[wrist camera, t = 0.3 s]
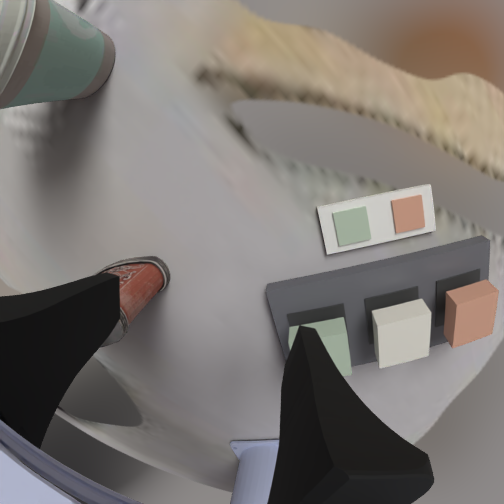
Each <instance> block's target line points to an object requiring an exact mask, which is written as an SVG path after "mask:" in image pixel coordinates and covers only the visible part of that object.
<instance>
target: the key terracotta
mask: <svg viewBox="0 0 504 504" xmlns="http://www.w3.org/2000/svg"><path fill="white" fill-rule="evenodd" d="M498 292H499V290H497V289H496V288H495V287H494V286H493V285H492V284H491V283H490V282H489V281H488V280H487V279H486V280H483V281H480V282H476V283H473V284H470V285H467V286H464V287H460V288H457V289H454V290H450V291H447V292H446V305H445V322H444V336H445V337H446V339H447V340H448V342H449V344H450V345H451V347H452V348H455V347H458V346H461V345H464V344H466V343H469V342H472V341H475V340H477V339H480V338H483V337H485V336H488V335H490V334H492V332H493V326H494V320H495V314H496V308H497V300H498Z"/></svg>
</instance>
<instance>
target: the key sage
mask: <svg viewBox="0 0 504 504" xmlns="http://www.w3.org/2000/svg"><path fill="white" fill-rule="evenodd" d="M302 326H306V327H311V328H315V329H316V331H317V332H318V334H319V336H320V338H321V340H322V342H323V344H324V346H325V347H326V349H327V351H328V353H329V355H330V357H331V358H332V360H333V362H334V363H335V365H336V367H337V368H338V370H339V371H340V373H341V374H342V376H348V375H352V370H351V361H350V352H349V344H348V337H347V330H346V326H345V321H344V317H341V318H336V319H331V320H326V321H320V322H315V323H310V324H304V325H302ZM298 328H299V325H298V326H293V327H289V342H288V344H289V348H290V350H291V347H292V345H293V342H294V339H295V336H296V333H297V330H298Z"/></svg>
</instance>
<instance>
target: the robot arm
mask: <svg viewBox="0 0 504 504" xmlns="http://www.w3.org/2000/svg"><path fill="white" fill-rule="evenodd" d="M120 318H121V316H120V276H117V275H114V274H111V273H108V272H106V273H101V274H97V275H93V276H90V277H87V278H83V279H80V280H77V281H74V282H70V283H67V284H64V285H60V286H57V287H53V288H49V289H46V290H42V291H37V292H33V293H27V294H21V295H13V296H2V297H0V504H81V503H80V502H78V501H77V500H75V499H74V498H72V497H71V496H69V495H68V494H66V493H64V492H63V491H61V490H60V489H58V488H57V487H55V486H54V485H52V484H51V483H49V482H48V481H46V480H45V479H43V478H42V477H40V476H39V475H38V474H36V473H35V472H33V471H32V470H31V469H29V468H28V467H26V466H25V465H24V464H22V463H21V462H20V461H19V460H18V459H20V460H21V461H22V462H24V463H25V464H26V465H28V466H29V467H30V468H32V469H33V470H34V471H36V472H38V473H39V474H40V475H42V476H43V477H45V478H46V479H48V480H49V481H51V482H52V483H54V484H56V485H57V486H59V487H60V488H62V489H63V490H65V491H67V492H68V493H70V494H72V495H74V496H75V497H77V498H79V499H81V500H83V501H85V502H86V503H88V504H143V503H140V502H138V501H135V500H133V499H130V498H128V497H126V496H123V495H121V494H119V493H117V492H114V491H112V490H110V489H108V488H106V487H104V486H102V485H100V484H98V483H96V482H94V481H92V480H90V479H88V478H86V477H84V476H82V475H80V474H79V473H77V472H75V471H73V470H72V469H70V468H68V467H67V466H65V465H63V464H61V463H60V462H58V461H57V460H55V459H54V458H52V457H50V456H49V455H47V454H46V453H44V452H43V451H41V450H40V447H41V444H42V441H43V438H44V436H45V433H46V431H47V428H48V426H49V424H50V421H51V419H52V417H53V415H54V413H55V411H56V409H57V407H58V405H59V403H60V401H61V400H62V398H63V396H64V394H65V392H66V391H67V389H68V387H69V386H70V384H71V383H72V381H73V379H74V378H75V376H76V375H77V374H78V372H79V371H80V370H81V369H82V367H83V366H84V365H85V364H86V363H87V361H88V360H89V359H90V358H91V357H92V356H93V354H94V353H95V352H96V351H97V350H98V349H99V347H100V346H101V345H102V344H103V343H104V341H105V340H106V339H107V338H108V337H109V335H110V334H111V332H112V331H113V329H114V328H115V326H116V324H117V323H118V321H119V320H120ZM230 446H231V448H232V450H233V451H234V453H235V454H236V456H237V457H238V459H239V460H240V462H239V467H238V471H237V476H236V480H235V484H234V489H233V493H232V498H231V502H230V504H411V503H413V502H414V501H416V500H417V499H418V498H420V497H421V496H422V495H424V494H425V493H426V492H427V491H428V490H429V489H430V488H431V486H432V485H433V483H434V476H433V472H432V468H431V464H430V460H429V457H428V454H426V453H425V452H423V451H421V450H420V449H418V448H417V447H415V446H414V445H412V444H410V443H409V442H407V441H406V440H404V439H403V438H402V437H400V436H399V435H398V434H397V433H395V432H394V431H393V430H391V429H390V428H389V427H388V426H387V425H386V424H384V423H383V422H382V421H381V420H380V419H379V418H378V417H377V416H376V415H375V414H374V413H373V412H372V411H371V410H370V409H369V408H368V407H367V406H366V405H365V404H364V403H363V402H362V401H361V399H360V398H359V397H358V396H357V395H356V393H355V392H354V391H353V390H352V388H351V387H350V386H349V384H348V383H347V382H346V380H345V379H344V377H343V376H342V374H341V373H340V371H339V370H338V368H337V367H336V365H335V363H334V362H333V360H332V358H331V357H330V355H329V353H328V351H327V349H326V347H325V346H324V344H323V342H322V340H321V338H320V336H319V334H318V332H317V331H316V329H315V328H311V327H306V326H302V325H299V328H298V330H297V333H296V336H295V339H294V342H293V345H292V347H291V350H290V353H289V356H288V358H287V361H286V364H285V368H284V374H283V380H282V387H281V414H280V437H279V439H278V440H261V441H232V442H230ZM15 456H16V457H17V458H18V459H17V458H16V457H15Z"/></svg>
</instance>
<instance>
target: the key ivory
mask: <svg viewBox="0 0 504 504" xmlns="http://www.w3.org/2000/svg"><path fill="white" fill-rule="evenodd" d="M372 320H373V332H374V348H375V355H376V358H377V362H378V365H379V369H381V368H385V367H389V366H393V365H397V364H401V363H405V362H409V361H412V360H416V359H419V358H423V357H426V356H429V345H430V331H431V311H430V310H429V308H428V307H427V305H426V304H425V302H424V301H423V299H418V300H414V301H410V302H406V303H402V304H398V305H394V306H390V307H386V308H382V309H377V310H373V311H372Z"/></svg>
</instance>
